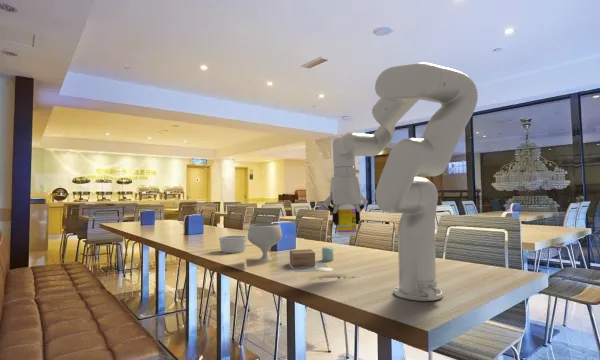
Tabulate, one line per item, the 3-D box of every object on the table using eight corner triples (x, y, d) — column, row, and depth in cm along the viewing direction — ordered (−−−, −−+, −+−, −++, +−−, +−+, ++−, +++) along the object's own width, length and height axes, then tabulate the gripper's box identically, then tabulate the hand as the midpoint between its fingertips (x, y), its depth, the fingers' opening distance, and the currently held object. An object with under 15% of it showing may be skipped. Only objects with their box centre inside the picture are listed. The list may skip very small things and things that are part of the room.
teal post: (334, 264, 136) (334, 248, 136) (323, 264, 135) (323, 249, 135) (331, 262, 140) (331, 246, 140) (321, 262, 139) (320, 247, 139)
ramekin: (238, 248, 178) (238, 234, 178) (252, 251, 168) (252, 236, 168) (214, 251, 169) (214, 236, 170) (227, 254, 159) (227, 239, 159)
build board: (335, 274, 118) (335, 271, 118) (295, 276, 116) (295, 273, 116) (323, 264, 135) (323, 261, 135) (288, 266, 133) (288, 262, 133)
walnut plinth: (315, 266, 125) (315, 252, 125) (293, 267, 124) (292, 253, 124) (310, 262, 133) (310, 249, 133) (289, 263, 132) (289, 250, 132)
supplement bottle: (354, 235, 116) (353, 197, 117) (335, 235, 119) (333, 197, 119) (358, 233, 123) (356, 197, 124) (339, 233, 125) (338, 197, 126)
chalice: (281, 265, 134) (281, 226, 135) (245, 265, 134) (244, 226, 135) (283, 258, 148) (282, 223, 149) (250, 259, 148) (250, 223, 149)
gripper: (364, 173, 127) (366, 223, 126) (317, 174, 124) (319, 224, 123) (372, 171, 120) (374, 224, 119) (322, 172, 117) (324, 226, 116)
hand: (346, 224), depth 121 cm, fingers closed on supplement bottle, 6 cm apart
